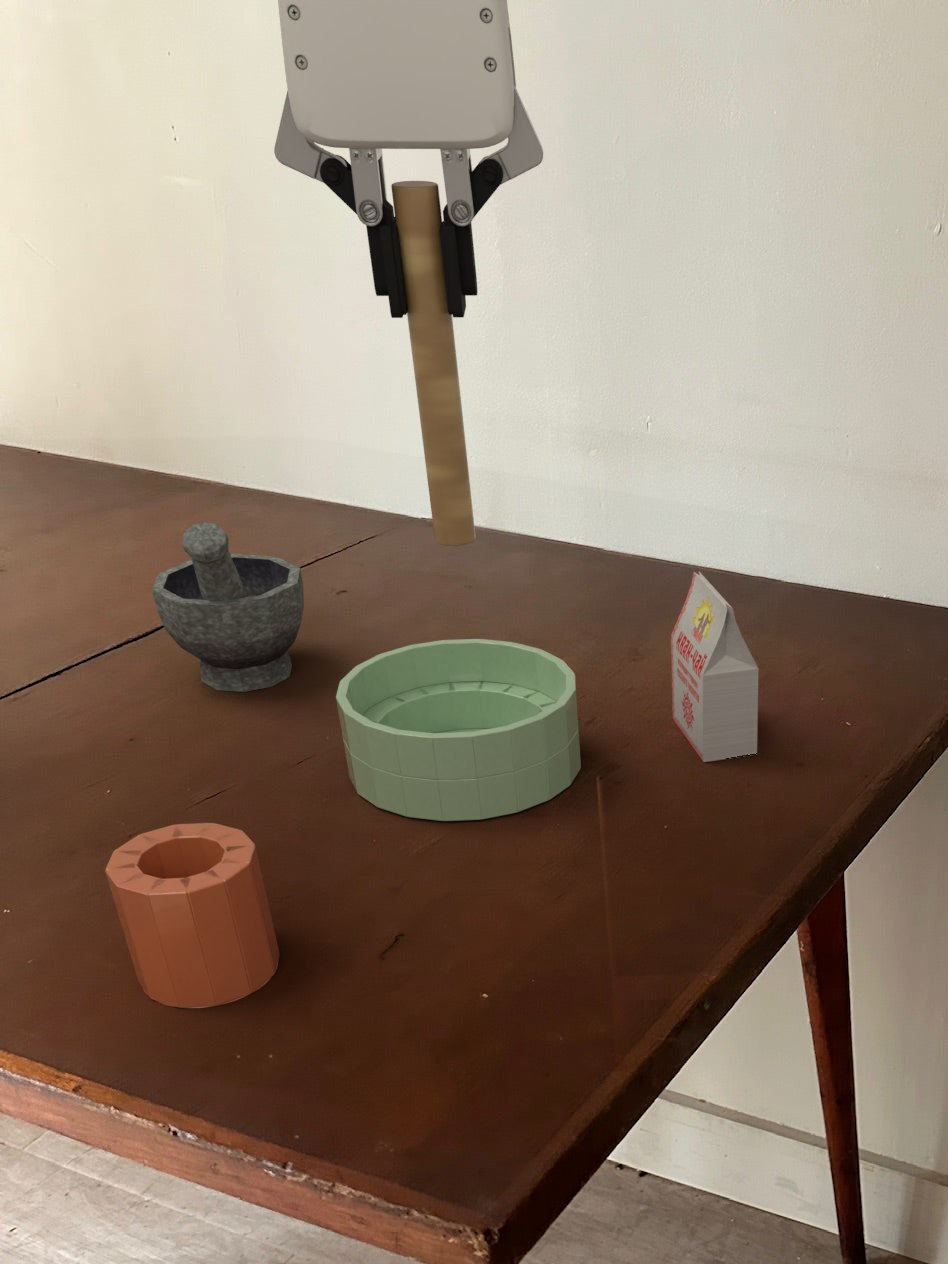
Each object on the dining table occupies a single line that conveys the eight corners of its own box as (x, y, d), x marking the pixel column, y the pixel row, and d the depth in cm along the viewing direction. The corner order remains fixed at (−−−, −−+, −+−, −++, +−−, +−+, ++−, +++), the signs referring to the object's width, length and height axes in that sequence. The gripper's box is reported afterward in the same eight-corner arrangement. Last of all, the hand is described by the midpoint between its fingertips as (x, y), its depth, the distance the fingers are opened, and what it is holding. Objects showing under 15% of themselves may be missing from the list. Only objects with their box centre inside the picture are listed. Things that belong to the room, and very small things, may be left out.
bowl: (340, 835, 84) (323, 741, 80) (363, 728, 95) (349, 642, 91) (584, 824, 86) (578, 732, 82) (578, 720, 97) (573, 635, 93)
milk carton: (723, 711, 98) (724, 568, 92) (756, 754, 93) (759, 605, 87) (672, 718, 97) (669, 573, 91) (703, 762, 92) (702, 612, 86)
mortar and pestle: (187, 649, 105) (147, 481, 97) (319, 642, 106) (290, 477, 99) (165, 715, 96) (120, 536, 89) (310, 707, 97) (277, 530, 90)
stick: (433, 547, 78) (389, 186, 67) (436, 533, 79) (393, 180, 69) (474, 546, 78) (436, 187, 67) (476, 532, 80) (439, 180, 69)
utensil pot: (130, 1019, 69) (91, 897, 65) (158, 943, 75) (124, 825, 70) (270, 1011, 70) (241, 890, 66) (288, 936, 75) (262, 819, 71)
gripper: (564, -155, 64) (588, 296, 75) (196, -166, 63) (277, 298, 74) (565, -164, 58) (591, 327, 70) (159, -176, 57) (253, 330, 68)
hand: (429, 308), depth 72 cm, fingers closed on stick, 2 cm apart
